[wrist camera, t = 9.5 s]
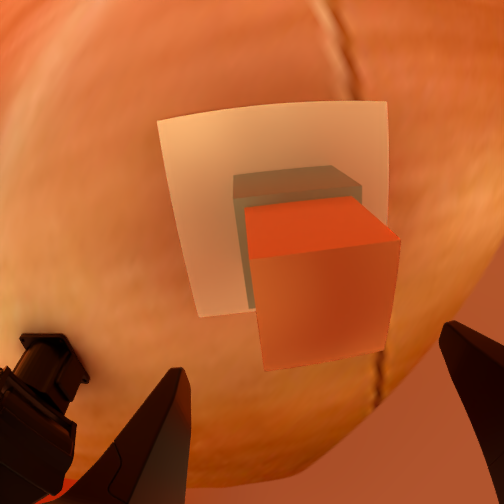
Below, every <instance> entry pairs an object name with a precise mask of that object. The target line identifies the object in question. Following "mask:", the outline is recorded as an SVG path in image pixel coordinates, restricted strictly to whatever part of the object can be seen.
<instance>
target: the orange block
mask: <svg viewBox="0 0 504 504" xmlns="http://www.w3.org/2000/svg"><path fill="white" fill-rule="evenodd" d="M244 211H245V222H246V233H247V243H248V254H249V263H250V271H251V278H252V285H253V292H254V300H255V307H256V314H257V321H258V329H259V336H260V343H261V350H262V357H263V365H264V371H271V370H279V369H286V368H293V367H299V366H306V365H312V364H318V363H323V362H329V361H334V360H340V359H345V358H350V357H355V356H359V355H364V354H369V353H373V352H377V351H382V350H384V348H385V343H386V338H387V333H388V328H389V323H390V317H391V312H392V306H393V299H394V293H395V286H396V279H397V271H398V263H399V255H400V245H401V239H400V238H399V237H398V236H396V235H395V234H394V233H393V232H392V231H391V230H390V229H389V228H388V227H387V226H386V225H384V224H383V223H382V222H381V221H380V220H379V219H378V218H377V217H375V216H374V215H373V214H372V213H371V212H370V211H369V210H367V209H366V208H365V207H364V206H363V205H362V204H360V203H359V202H358V201H357V200H356V199H355V198H353V197H352V196H344V197H334V198H324V199H314V200H304V201H295V202H286V203H278V204H269V205H261V206H253V207H245V208H244Z"/></svg>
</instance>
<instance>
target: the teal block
mask: <svg viewBox="0 0 504 504" xmlns="http://www.w3.org/2000/svg"><path fill="white" fill-rule="evenodd" d="M344 196H352V197H353V198H355V199H356V200H357V201H358V202H359V203H360V204H362V185H360V184H359V183H358V182H356V181H355V180H353V179H352V178H350V177H349V176H347V175H346V174H344V173H343V172H341V171H340V170H338V169H337V168H335V167H334V166H332V165H328V166H315V167H304V168H293V169H283V170H273V171H264V172H255V173H247V174H239V175H233V204H234V211H235V218H236V225H237V232H238V239H239V246H240V253H241V260H242V267H243V273H244V280H245V287H246V294H247V301H248V307H249V309H253V308H256V307H255V300H254V292H253V285H252V278H251V271H250V263H249V254H248V243H247V233H246V222H245V211H244V208H245V207H253V206H261V205H269V204H278V203H286V202H295V201H304V200H314V199H324V198H334V197H344Z"/></svg>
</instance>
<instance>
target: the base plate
mask: <svg viewBox="0 0 504 504" xmlns="http://www.w3.org/2000/svg"><path fill="white" fill-rule="evenodd" d="M157 125H158V131H159V137H160V143H161V149H162V155H163V161H164V166H165V171H166V177H167V182H168V187H169V192H170V197H171V202H172V207H173V212H174V217H175V222H176V226H177V231H178V235H179V240H180V244H181V249H182V253H183V257H184V262H185V266H186V270H187V274H188V278H189V282H190V286H191V290H192V294H193V298H194V302H195V306H196V310H197V313H198V317H209V316H219V315H228V314H237V313H246V312H254V311H256V308H253V309H249V307H248V301H247V294H246V287H245V280H244V273H243V267H242V260H241V253H240V246H239V239H238V232H237V225H236V218H235V211H234V204H233V175H239V174H247V173H255V172H264V171H273V170H283V169H293V168H304V167H315V166H328V165H332V166H334V167H335V168H337V169H338V170H340V171H341V172H343V173H344V174H346V175H347V176H349V177H350V178H352V179H353V180H355V181H356V182H358V183H359V184H360V185H362V205H363V206H364V207H365V208H366V209H367V210H369V211H370V212H371V213H372V214H373V215H374V216H375V217H377V218H378V219H379V220H380V221H381V222H382V223H383V224H384V225H386V226H387V219H388V197H389V133H388V111H387V101H312V102H293V103H279V104H267V105H256V106H247V107H239V108H231V109H223V110H216V111H209V112H203V113H197V114H191V115H185V116H180V117H175V118H169V119H165V120H160V121H157Z"/></svg>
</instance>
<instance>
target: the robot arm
mask: <svg viewBox="0 0 504 504" xmlns="http://www.w3.org/2000/svg"><path fill="white" fill-rule="evenodd" d="M19 339H20V341H21V343H22V345H23V346H24V348H25V349H26V350H25V352H24V353H23V355H22V356H21V358H20V360H19V361H18V363H17V365H16V366H15V368H14V370H13V371H11V369H10V368H9V367H8V366H6V367H5V368H3V369H2V368H0V504H35V503H36V502H38V501H39V500H41V499H43V498H44V497H46V496H47V495H49V494H50V495H52V496H55V495H57V494H58V493H59V492H60V491H61V490H62V487H63V481H64V477H65V473H66V472H67V471H68V469H69V468H70V466H71V464H72V461H73V457H74V448H75V437H76V428H77V424H76V423H75V422H73V421H71V420H69V419H68V418H67V417H65V416H64V415H65V413H66V410H67V408H68V405H69V403H70V402H72V401H73V400H74V397H75V395H76V392H77V390H78V387H79V385H80V383H84V384H88V383H89V381H90V378H89V377H88V375H87V373H86V372H85V370H84V368H83V367H82V365H81V363H80V362H79V360H78V358H77V357H76V355H75V353H74V351H73V350H72V348H71V346H70V344H69V343H68V341H67V339H66V337H65V336H63V335H31V334H22V335H21V336H20V338H19ZM439 346H440V349H441V352H442V354H443V357H444V359H445V362H446V365H447V368H448V371H449V373H450V376H451V379H452V381H453V383H454V385H455V388H456V389H457V392H458V394H459V396H460V398H461V401H462V403H463V405H464V407H465V410H466V412H467V414H468V417H469V419H470V421H471V424H472V426H473V429H474V431H475V434H476V436H477V439H478V441H479V444H480V446H481V449H482V452H483V455H484V457H485V460H486V463H487V466H488V469H489V472H490V475H491V478H492V481H493V484H494V488H495V490H496V494H497V498H498V501H499V504H504V346H503V345H501V344H500V343H498V342H496V341H494V340H492V339H490V338H488V337H486V336H484V335H482V334H481V333H479V332H477V331H475V330H473V329H471V328H469V327H467V326H465V325H463V324H461V323H459V322H457V321H455V320H452V321H449V322H446V323H445V324H444V325H443V328H442V331H441V334H440V338H439ZM190 438H191V388H190V383H189V380H188V378H187V375H186V373H185V370H184V369H183V368H182V367H176V368H170V369H169V370H168V372H167V373H166V374H165V376H164V377H163V378H162V379H161V381H160V382H159V383H158V385H157V386H156V387H155V388H154V390H153V391H152V392H151V394H150V395H149V396H148V397H147V399H146V400H145V401H144V403H143V404H142V405H141V406H140V408H139V409H138V410H137V412H136V413H135V414H134V416H133V417H132V418H131V419H130V421H129V422H128V423H127V425H126V426H125V427H124V428H123V430H122V431H121V432H120V434H119V435H118V436H117V437H116V439H115V440H114V442H112V444H111V445H110V446H109V447H108V449H107V450H106V451H105V452H104V454H103V455H102V456H101V457H100V458H99V460H98V461H97V462H96V463H95V464H94V465H93V466H92V467H91V468H90V469H89V470H88V471H87V472H86V473H85V474H84V475H83V476H82V477H81V478H80V479H79V480H78V481H77V482H76V483H75V484H74V485H73V486H72V487H71V488H70V489H69V490H68V491H67V492H66V493H65V494H63V495H62V496H61V497H59V498H57V499H55V500H53V501H50V502H46V503H42V504H184V503H185V491H186V479H187V468H188V458H189V448H190Z"/></svg>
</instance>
